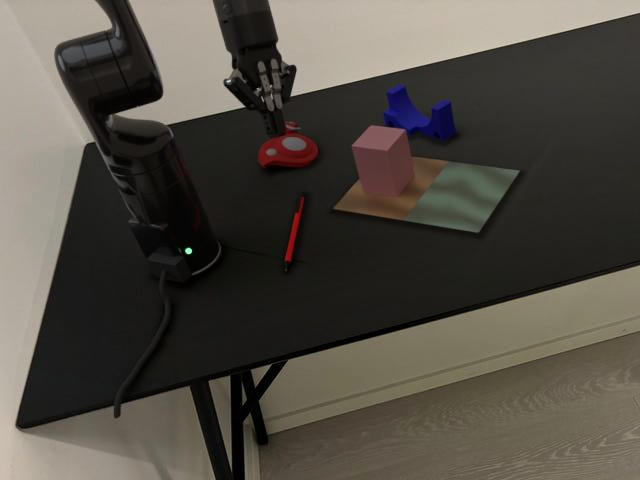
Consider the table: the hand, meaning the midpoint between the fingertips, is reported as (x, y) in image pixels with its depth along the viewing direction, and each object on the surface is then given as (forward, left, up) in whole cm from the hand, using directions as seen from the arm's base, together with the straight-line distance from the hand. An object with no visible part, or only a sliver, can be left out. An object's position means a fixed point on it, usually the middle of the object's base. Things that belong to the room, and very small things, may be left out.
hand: (277, 136), depth 125 cm
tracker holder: (+9, +6, -10) cm, 15 cm away
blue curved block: (+21, -12, -10) cm, 26 cm away
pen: (-9, -6, -10) cm, 15 cm away
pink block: (+5, -15, -9) cm, 18 cm away
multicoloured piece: (+5, -21, -10) cm, 24 cm away
